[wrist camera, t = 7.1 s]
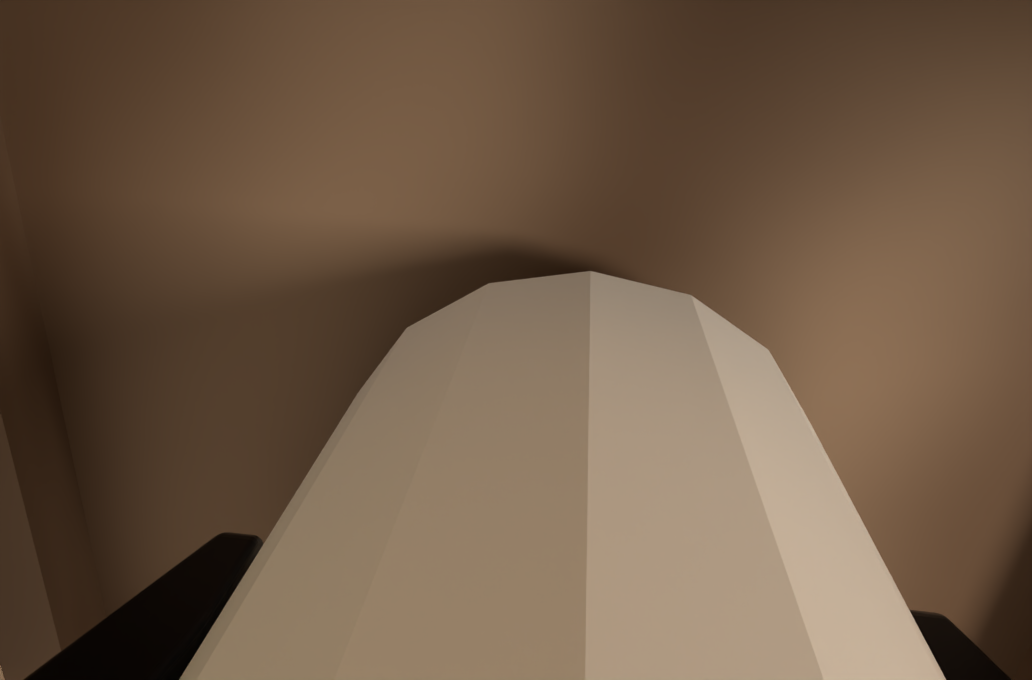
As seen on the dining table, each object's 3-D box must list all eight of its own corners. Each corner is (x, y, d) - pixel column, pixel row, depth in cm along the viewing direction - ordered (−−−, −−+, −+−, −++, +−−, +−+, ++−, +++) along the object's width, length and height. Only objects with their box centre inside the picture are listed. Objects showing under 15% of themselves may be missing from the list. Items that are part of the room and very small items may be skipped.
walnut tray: (1520, -235, 8) (1760, -252, 7) (970, 811, 16) (1013, 928, 15) (-148, -366, 9) (-328, -412, 7) (101, 708, 17) (44, 808, 15)
